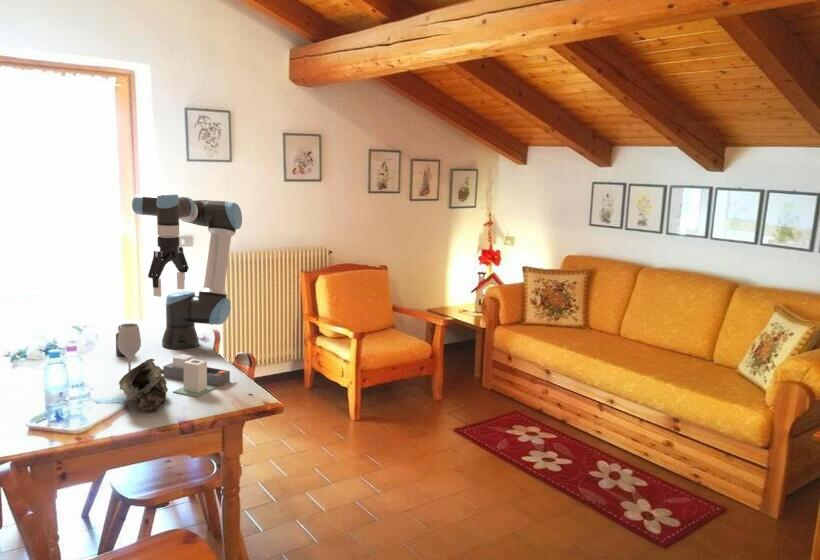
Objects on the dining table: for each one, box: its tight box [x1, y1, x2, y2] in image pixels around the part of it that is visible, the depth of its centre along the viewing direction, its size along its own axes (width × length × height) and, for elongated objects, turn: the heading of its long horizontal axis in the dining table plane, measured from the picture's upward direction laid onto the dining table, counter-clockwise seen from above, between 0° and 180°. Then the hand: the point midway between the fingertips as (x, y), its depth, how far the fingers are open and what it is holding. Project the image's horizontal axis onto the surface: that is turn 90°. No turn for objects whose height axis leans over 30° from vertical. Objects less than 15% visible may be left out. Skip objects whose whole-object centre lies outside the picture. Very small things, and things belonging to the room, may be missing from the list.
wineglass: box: [117, 322, 142, 384], centre depth 229 cm, size 8×8×21 cm
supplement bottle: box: [115, 325, 127, 358], centre depth 261 cm, size 7×7×12 cm
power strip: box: [161, 362, 231, 388], centre depth 239 cm, size 31×7×4 cm, turn 71°
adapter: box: [172, 353, 194, 369], centre depth 239 cm, size 5×5×5 cm
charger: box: [183, 358, 208, 393], centre depth 226 cm, size 5×6×10 cm
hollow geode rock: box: [118, 358, 168, 414], centre depth 212 cm, size 28×13×15 cm
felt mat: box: [172, 385, 218, 398], centre depth 227 cm, size 11×10×1 cm
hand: (169, 292), depth 239 cm, fingers open, 13 cm apart
